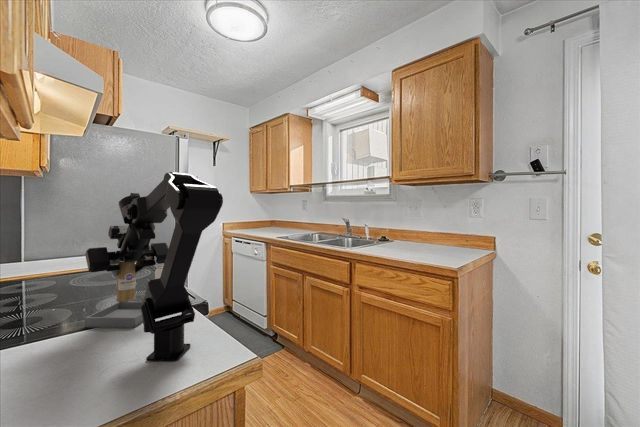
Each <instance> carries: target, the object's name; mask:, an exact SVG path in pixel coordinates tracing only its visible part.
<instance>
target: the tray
mask: <svg viewBox="0 0 640 427" xmlns="http://www.w3.org/2000/svg"><path fill="white" fill-rule="evenodd" d="M141 305H142V301H128V302H117V301H116V303H114V304H111V305H109V306H107V307H105V308H102V309H100V310H98V311H96V312H94V313H92V314H90V315H88V316H85V317H84V328H97V329H98V328H99V329H100V328H108V329H109V328H110V329H111V328H113V329H114V328H115V329H116V328H118V329H120V328H121V329H123V328H126V329H132V328H135V329H136V328H137V327H138V326H140V325H143V318H142V313H141Z"/></svg>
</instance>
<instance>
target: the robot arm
mask: <svg viewBox="0 0 640 427" xmlns="http://www.w3.org/2000/svg"><path fill="white" fill-rule="evenodd" d="M223 203H224V198H223V194H222V193H221V192H220V191H219V190H218V187H216V186H215V185H212V184H209V183H207V182H205V181H202V180H200V179H198V178H196V177H195V176H194V175H193V174H190V173H187V172H186V173H185V172H176V171H169V172H165V174H164V175H163V179H162V181H160V182H159V183H158V185H156V187H155V188H153V189H152V191H151V192H150V193H149V194H147V195H145V196H141V194H140V193H139V192H130V195H128V196H125V197H123V198H121V200H119V201H118V207H119V211H120V213H121V217H122V219H123V223H124V224H125V225H110V226H109V229H108V233H107V234H108V237H109V239H110V240H117V241H118V242H117V244H116V245H117V249H120V250H117V251H108V248H107V247H106V246H101V247H100V246H99V247H89V248H87V250H85V259H86V265H87V269H88V272H90V273H97V272H105V271H106V272H111V273H112V275H113V277H114V278H117V275H118V273H119V270H120V268H119V262H124V263H126V262H134V261H135V275H136V274H138V273H140V272H142V271H144V270H146V269H149V268H150V267H153V266H155V265H157V264H158V265H159V264H160V265H162V264H163V265H164V266H163V270H162V273H161V277H160V278H158V279H155V278H153V279H152V278H151V279H150V280H149V281H148V282H147V288H146V291H145V293H144V295H145V296H144V298H143V299H142V301H141V302H142V305H141V313H142V318H143V323H142V325H143V333H150V334H152V335H153V351H152V352H151V353H150V354H149V355H148V356H146V357H145V359H146V361H159V362H160V361H162V362H163V361H165V362H167V361H172V362H174V361H175V362H176V361H179V360H180V358H181V357H182V356H183V355H184V354H185V353H186V352H187V351H188V350H189V349H190V348H191V343H185V324H188V323H194V321H195V318H196V317H195V316H196V313H195V309H194V308H193V305H192V301H191V300H190V294H189V292H188V290H187V289H186V286H185V283H186V281H187V278H188V276H189V273H190V269H191V266H192V262H193V261H194V257H195V254H196V251H197V248H198V245H199V243H200V240H201V236H202V233H203V231H204V230H205V229H207V228H208V227H209V226H210V225H212V224H213V223H214V222H215V221H216V219H217V218H218V215H219V213H220V211H221V208H222V207H223ZM168 209H170V212H171V213H172V216H173V218H174V220H175V225H174V228H173V229H174V230H173V232H172V235H171V240H170V242H169V246H168V244H167V242H151V240H155V239H156V233H155V229H156V225H155V224H161V223H163V222H164V220H166V219H167V217H168ZM179 313H181V314H179ZM172 315H174V316H172ZM169 316H170V317H169ZM166 317H167V318H166ZM161 318H163V319H161ZM156 319H157V320H156ZM158 319H160V320H158Z"/></svg>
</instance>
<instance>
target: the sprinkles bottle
mask: <svg viewBox="0 0 640 427" xmlns="http://www.w3.org/2000/svg"><path fill="white" fill-rule="evenodd" d="M135 264H136V261H134V262H126V263H124V262H119V268H120V270H119V273H118V275H117V276H116V303H117V302H133V301H135V299H136V274H135Z"/></svg>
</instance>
